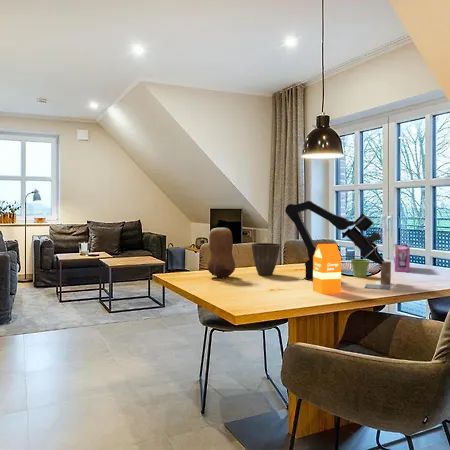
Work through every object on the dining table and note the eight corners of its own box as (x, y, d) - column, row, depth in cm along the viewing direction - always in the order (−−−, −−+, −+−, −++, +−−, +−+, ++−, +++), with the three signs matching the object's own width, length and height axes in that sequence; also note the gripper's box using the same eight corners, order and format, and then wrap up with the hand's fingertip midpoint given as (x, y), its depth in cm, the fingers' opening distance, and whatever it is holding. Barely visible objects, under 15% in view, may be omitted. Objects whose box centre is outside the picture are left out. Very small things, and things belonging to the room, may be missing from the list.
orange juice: (341, 292, 180) (341, 244, 180) (321, 294, 178) (322, 244, 177) (331, 289, 188) (331, 242, 187) (312, 290, 185) (313, 243, 185)
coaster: (364, 288, 190) (364, 287, 190) (366, 285, 199) (366, 283, 199) (389, 290, 186) (389, 289, 186) (390, 286, 195) (390, 285, 195)
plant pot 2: (370, 279, 217) (371, 261, 216) (350, 278, 218) (351, 261, 218) (368, 276, 226) (368, 259, 225) (349, 275, 228) (349, 258, 227)
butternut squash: (225, 274, 229) (225, 226, 228) (240, 278, 218) (240, 227, 217) (202, 276, 221) (202, 227, 221) (216, 280, 210) (216, 228, 209)
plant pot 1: (272, 272, 239) (272, 242, 238) (284, 276, 225) (285, 244, 224) (247, 273, 234) (247, 243, 234) (257, 277, 220) (258, 245, 220)
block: (380, 284, 199) (381, 262, 199) (381, 282, 204) (381, 261, 204) (390, 285, 198) (390, 262, 197) (390, 283, 202) (390, 261, 202)
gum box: (410, 272, 240) (410, 247, 239) (394, 271, 242) (395, 247, 242) (407, 267, 262) (407, 244, 262) (392, 266, 265) (393, 244, 264)
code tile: (374, 285, 198) (374, 284, 198) (376, 282, 207) (376, 281, 207) (395, 286, 195) (395, 286, 195) (396, 283, 203) (396, 283, 203)
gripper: (368, 227, 194) (395, 252, 190) (372, 225, 211) (396, 249, 207) (350, 244, 197) (376, 270, 193) (355, 241, 215) (379, 265, 211)
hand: (382, 263), depth 201 cm, fingers open, 9 cm apart
